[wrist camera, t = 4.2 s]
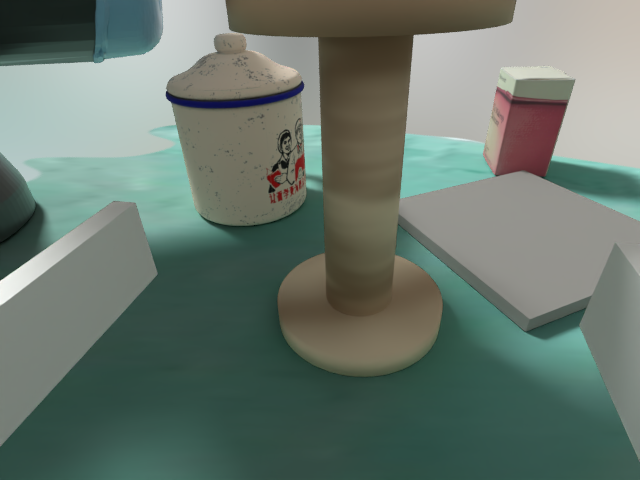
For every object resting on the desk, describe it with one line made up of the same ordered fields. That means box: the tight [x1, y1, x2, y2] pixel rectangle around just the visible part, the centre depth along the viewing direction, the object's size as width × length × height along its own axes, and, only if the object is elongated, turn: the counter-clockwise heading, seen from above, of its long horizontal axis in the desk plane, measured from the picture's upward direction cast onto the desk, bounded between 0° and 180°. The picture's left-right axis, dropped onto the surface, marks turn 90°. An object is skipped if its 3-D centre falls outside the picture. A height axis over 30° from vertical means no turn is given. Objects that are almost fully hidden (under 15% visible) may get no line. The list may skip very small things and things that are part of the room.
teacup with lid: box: [166, 33, 306, 226], centre depth 29 cm, size 12×9×12 cm
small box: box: [483, 66, 575, 176], centre depth 33 cm, size 5×4×8 cm
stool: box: [226, 0, 516, 377], centre depth 16 cm, size 9×9×14 cm
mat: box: [398, 170, 640, 332], centre depth 26 cm, size 13×13×1 cm
